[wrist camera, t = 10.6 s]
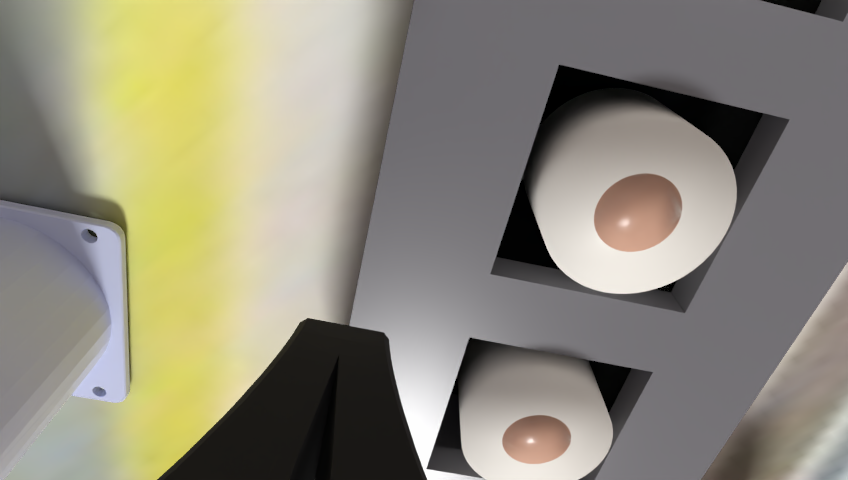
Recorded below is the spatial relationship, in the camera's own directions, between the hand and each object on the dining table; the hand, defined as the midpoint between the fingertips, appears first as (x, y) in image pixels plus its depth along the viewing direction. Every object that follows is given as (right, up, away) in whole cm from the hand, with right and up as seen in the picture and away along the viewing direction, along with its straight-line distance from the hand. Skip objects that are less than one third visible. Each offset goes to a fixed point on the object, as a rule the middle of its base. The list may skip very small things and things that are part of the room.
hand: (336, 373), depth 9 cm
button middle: (+6, +4, +6) cm, 10 cm away
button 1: (+5, -2, +10) cm, 11 cm away
